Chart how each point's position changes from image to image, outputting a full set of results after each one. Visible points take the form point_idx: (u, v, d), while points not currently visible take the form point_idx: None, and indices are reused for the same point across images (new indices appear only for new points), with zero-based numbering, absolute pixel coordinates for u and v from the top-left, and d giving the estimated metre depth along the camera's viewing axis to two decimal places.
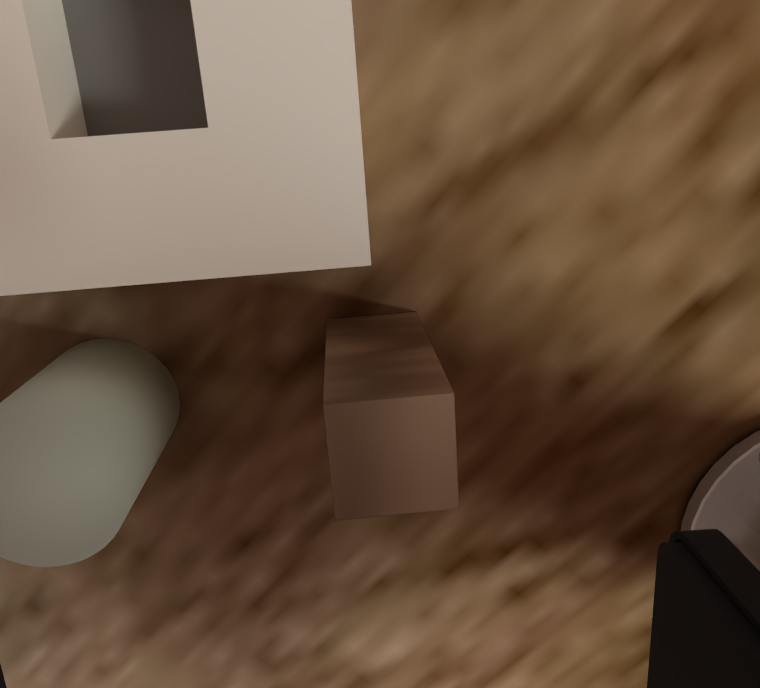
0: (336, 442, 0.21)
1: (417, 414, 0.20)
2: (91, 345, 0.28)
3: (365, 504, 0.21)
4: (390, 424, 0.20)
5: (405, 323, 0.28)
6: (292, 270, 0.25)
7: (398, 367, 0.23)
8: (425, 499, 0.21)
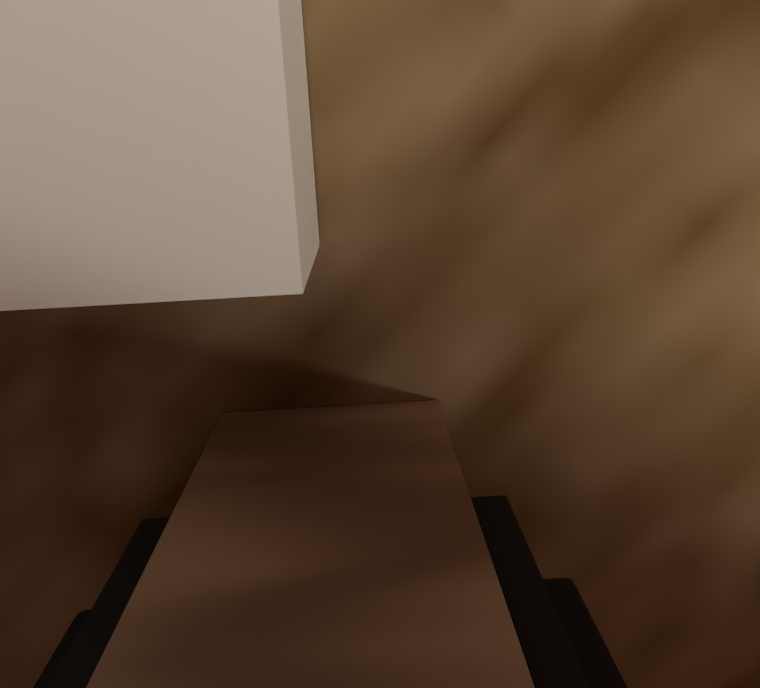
0: None
1: None
2: None
3: None
4: None
5: (409, 441, 0.11)
6: (44, 303, 0.08)
7: None
8: None
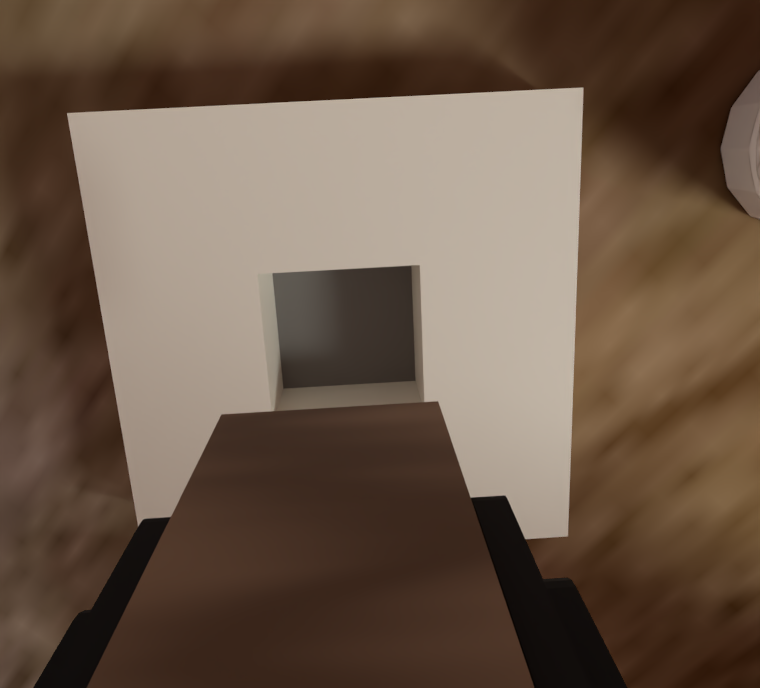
0: None
1: None
2: None
3: None
4: None
5: (410, 444, 0.11)
6: None
7: None
8: None
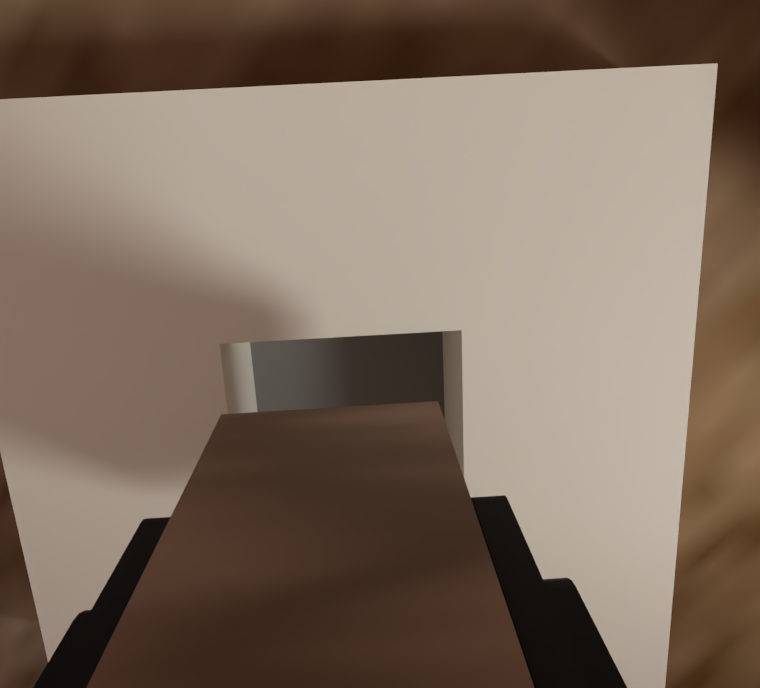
0: None
1: None
2: None
3: None
4: None
5: (410, 443, 0.11)
6: None
7: None
8: None
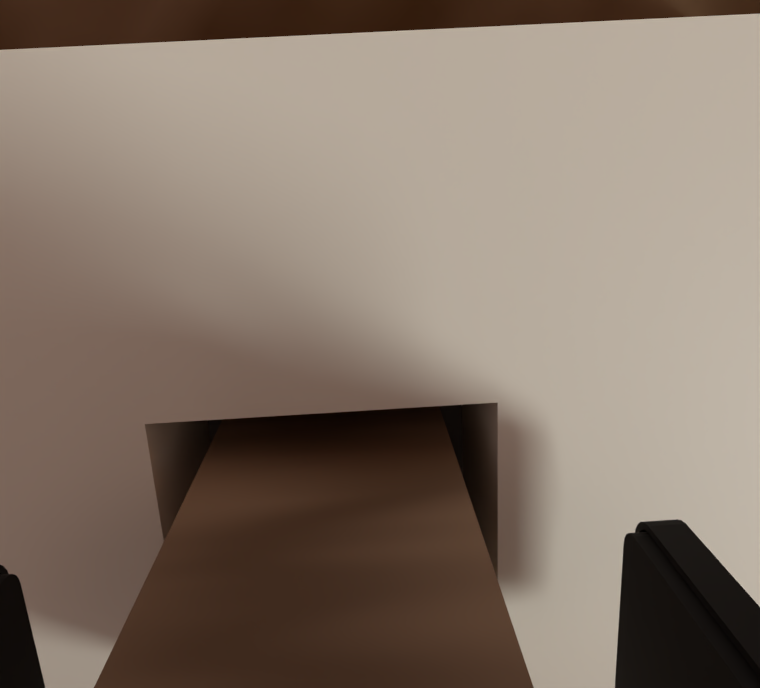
0: None
1: None
2: None
3: None
4: None
5: None
6: None
7: (363, 605, 0.07)
8: None
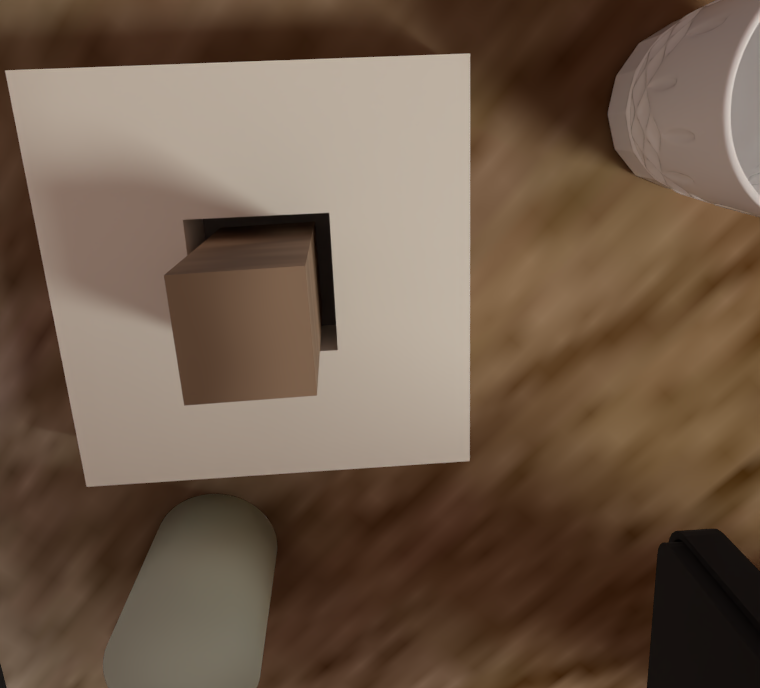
0: (180, 318, 0.19)
1: (267, 288, 0.19)
2: (206, 504, 0.32)
3: (216, 388, 0.20)
4: (238, 299, 0.19)
5: (297, 228, 0.27)
6: (400, 464, 0.28)
7: (263, 252, 0.22)
8: (280, 384, 0.20)
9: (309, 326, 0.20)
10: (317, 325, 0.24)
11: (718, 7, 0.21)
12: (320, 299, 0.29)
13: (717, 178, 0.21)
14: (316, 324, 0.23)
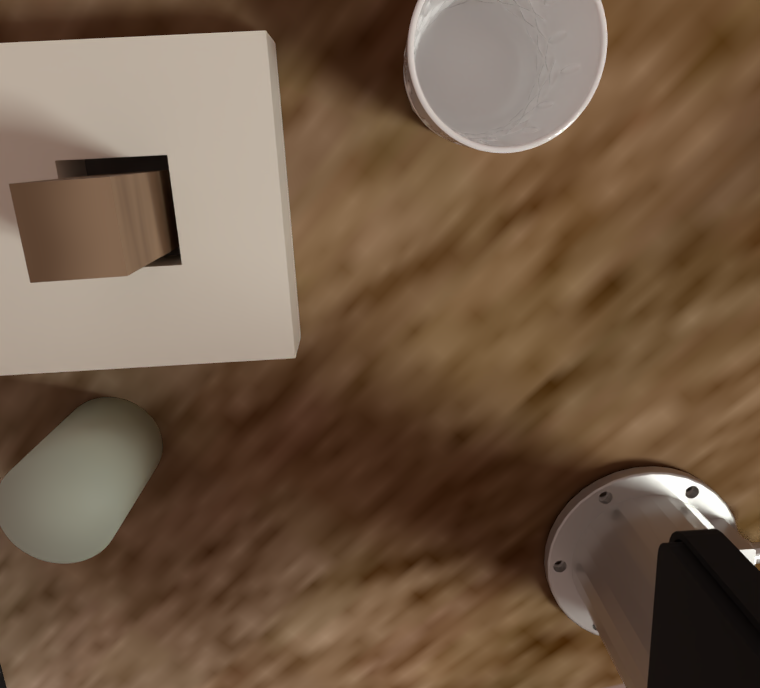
0: (23, 215, 0.27)
1: (84, 193, 0.27)
2: (98, 403, 0.39)
3: (52, 269, 0.27)
4: (63, 201, 0.27)
5: None
6: (239, 360, 0.35)
7: (98, 176, 0.29)
8: (99, 267, 0.27)
9: (117, 222, 0.27)
10: (152, 238, 0.31)
11: None
12: None
13: (426, 116, 0.28)
14: (147, 235, 0.31)
